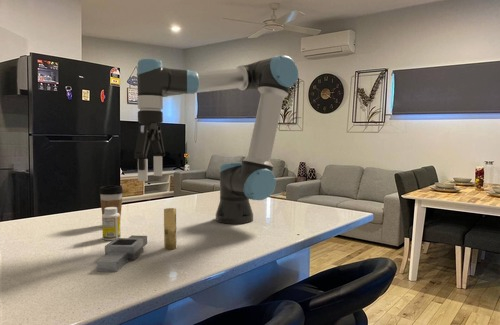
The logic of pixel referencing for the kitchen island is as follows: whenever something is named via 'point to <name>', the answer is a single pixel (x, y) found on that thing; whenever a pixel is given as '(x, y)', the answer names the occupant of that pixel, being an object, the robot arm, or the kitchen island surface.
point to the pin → (169, 228)
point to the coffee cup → (111, 197)
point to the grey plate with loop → (121, 252)
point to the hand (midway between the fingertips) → (150, 178)
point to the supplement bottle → (111, 223)
